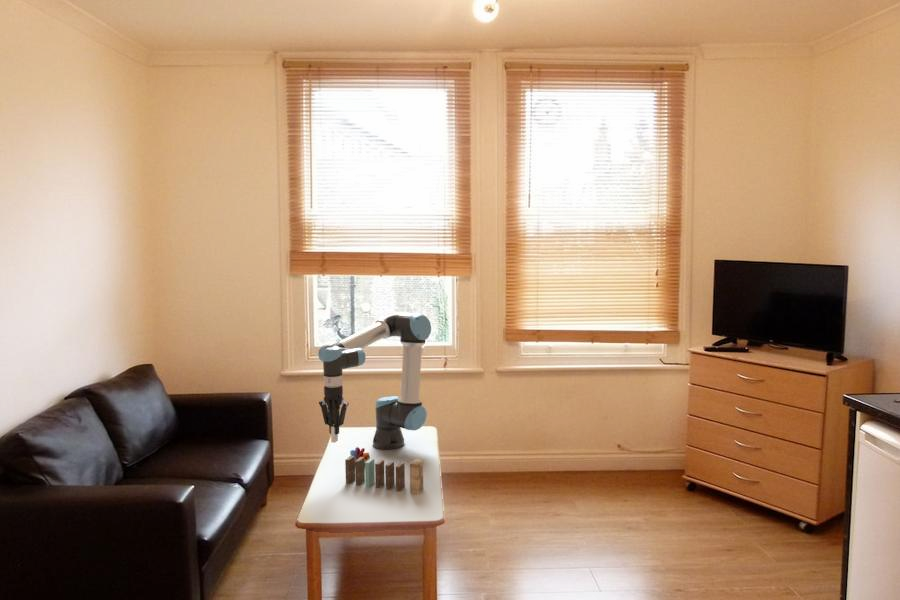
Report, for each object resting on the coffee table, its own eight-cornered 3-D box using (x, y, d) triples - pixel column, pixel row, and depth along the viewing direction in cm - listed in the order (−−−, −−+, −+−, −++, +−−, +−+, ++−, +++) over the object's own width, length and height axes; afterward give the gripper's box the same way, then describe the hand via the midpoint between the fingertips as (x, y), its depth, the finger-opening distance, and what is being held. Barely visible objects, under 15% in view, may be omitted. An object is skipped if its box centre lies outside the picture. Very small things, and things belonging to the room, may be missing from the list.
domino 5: (395, 491, 242) (395, 466, 241) (401, 486, 246) (400, 462, 245) (399, 491, 241) (399, 467, 240) (404, 486, 246) (404, 462, 245)
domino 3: (375, 487, 245) (375, 463, 244) (381, 483, 250) (380, 459, 249) (379, 488, 244) (378, 464, 243) (384, 483, 249) (384, 460, 248)
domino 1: (345, 483, 250) (345, 459, 249) (351, 478, 254) (351, 455, 253) (349, 483, 249) (348, 460, 248) (355, 479, 254) (354, 456, 253)
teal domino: (365, 486, 246) (365, 462, 245) (371, 481, 251) (370, 458, 250) (369, 486, 246) (368, 462, 245) (374, 482, 251) (374, 458, 250)
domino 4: (385, 489, 243) (385, 465, 242) (391, 484, 248) (390, 460, 247) (389, 490, 243) (388, 465, 242) (394, 485, 247) (394, 461, 246)
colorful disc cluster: (366, 467, 267) (365, 451, 266) (345, 466, 269) (345, 450, 268) (372, 460, 275) (372, 445, 274) (352, 459, 277) (352, 443, 276)
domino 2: (355, 484, 248) (355, 461, 247) (361, 480, 253) (361, 456, 252) (359, 485, 247) (358, 461, 246) (364, 480, 252) (364, 457, 251)
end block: (415, 488, 244) (414, 459, 243) (423, 489, 243) (422, 460, 242) (410, 493, 240) (409, 463, 238) (418, 494, 238) (417, 464, 237)
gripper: (314, 386, 249) (315, 442, 251) (342, 388, 244) (343, 446, 247) (324, 382, 256) (325, 437, 258) (351, 384, 251) (353, 440, 254)
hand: (334, 441), depth 252 cm, fingers closed
